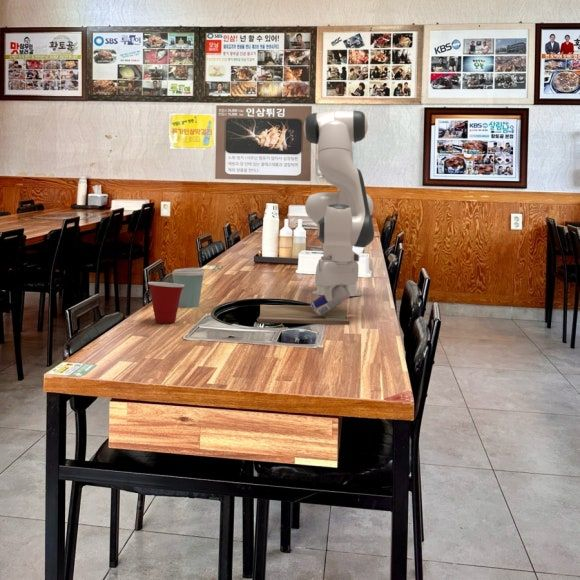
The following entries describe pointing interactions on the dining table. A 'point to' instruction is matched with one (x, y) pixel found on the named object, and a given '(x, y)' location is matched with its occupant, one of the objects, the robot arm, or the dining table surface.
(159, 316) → the plastic cup
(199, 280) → the disposable coffee cup
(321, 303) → the energy drink
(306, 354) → the dining table surface
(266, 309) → the walnut board
